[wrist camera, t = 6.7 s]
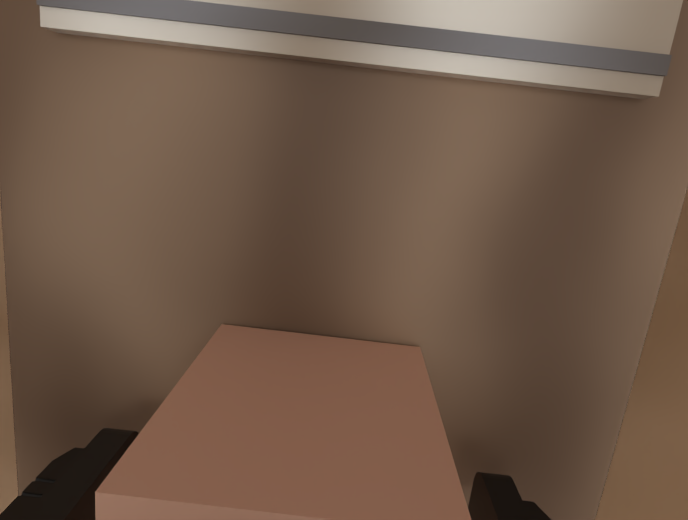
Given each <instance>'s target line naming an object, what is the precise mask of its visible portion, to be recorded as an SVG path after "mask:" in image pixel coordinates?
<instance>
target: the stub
mask: <svg viewBox="0 0 688 520" xmlns="http://www.w3.org/2000/svg"><path fill="white" fill-rule="evenodd" d="M95 520H471V517H470V513H469V510H468V507H467V503H466V500H465V497H464V493H463V490H462V487H461V483H460V480H459V476H458V473H457V470H456V466H455V463H454V460H453V456H452V453H451V449H450V446H449V443H448V439H447V436H446V433H445V429H444V426H443V423H442V419H441V416H440V412H439V409H438V406H437V402H436V399H435V396H434V392H433V389H432V385H431V382H430V379H429V375H428V372H427V369H426V365H425V362H424V359H423V355H422V352H421V348H420V347H416V346H407V345H399V344H390V343H381V342H373V341H364V340H355V339H347V338H338V337H329V336H321V335H312V334H303V333H295V332H286V331H277V330H269V329H260V328H251V327H242V326H234V325H225V324H221V326H220V327H219V328H218V330H217V331H216V332H215V334H214V335H213V336H212V337H211V339H210V340H209V341H208V343H207V344H206V345H205V347H204V348H203V349H202V351H201V352H200V353H199V355H198V356H197V357H196V359H195V360H194V361H193V363H192V364H191V365H190V367H189V368H188V369H187V371H186V372H185V373H184V375H183V376H182V377H181V379H180V380H179V381H178V383H177V384H176V385H175V387H174V388H173V389H172V391H171V392H170V393H169V395H168V396H167V397H166V399H165V400H164V401H163V403H162V404H161V405H160V407H159V408H158V409H157V411H156V412H155V413H154V414H153V416H152V417H151V418H150V420H149V421H148V422H147V424H146V425H145V426H144V428H143V429H142V430H141V432H140V433H139V434H138V436H137V437H136V438H135V440H134V441H133V442H132V444H131V445H130V446H129V448H128V449H127V450H126V452H125V453H124V454H123V456H122V457H121V458H120V460H119V461H118V462H117V464H116V465H115V466H114V468H113V469H112V470H111V472H110V473H109V474H108V476H107V477H106V478H105V480H104V481H103V482H102V484H101V485H100V486H99V488H98V489H97V490H96V491H95Z"/></svg>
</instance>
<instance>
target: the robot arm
mask: <svg viewBox="0 0 688 520" xmlns="http://www.w3.org/2000/svg"><path fill="white" fill-rule="evenodd" d="M138 434H139V433H138V432H137V431H130V430H122V429H113V428H103V429H102V430H100V431H99V433H98V434H97V435H96V436H95V437H94V438H93V439H92V440H91V441H90V443H89V444H88V445H87V446H86V447H85V448H76V447H75V448H73V449H71V450H70V451H68V452H66V453H64V454H63V455H61V456H59V457H58V458H56V459H54V460H53V461H51V462H50V463H49V464H48V466H47V467H46V468H45V469H44V470H43V471H42V472H41V473H40V474H39V475H38V476H37V477H36V479H35V481H32V482H31V483H30V484H29V485H28V486H27V487H26V488H25V489H24V490H23V491H22V494H21V496H18V497H17V498H16V499H15V500H14V501H13V502H12V503H11V504H10V505H9V506H8V507H7V508H6V509H5V510H4V511H3V512H2V513H1V514H0V520H95V491H96V490H97V489H98V488H99V486H100V485H101V484H102V482H103V481H104V480H105V478H106V477H107V476H108V474H109V473H110V472H111V470H112V469H113V468H114V466H115V465H116V464H117V462H118V461H119V460H120V458H121V457H122V456H123V454H124V453H125V452H126V450H127V449H128V448H129V446H130V445H131V444H132V442H133V441H134V440H135V438H136V437H137V436H138ZM468 510H469V513H470V517H471V520H551V519H550V518H549V517H548V516H547V515H546V514H545V513H544V512H543V511H542V510H541V509H540V508H539V506H538V505H537V504H536V503H535V502H532V501H523V500H522V498H521V496H520V494H519V492H518V490H517V487H516V485H515V483H514V481H513V479H512V477H511V476H509V475H501V474H493V473H484V472H477V473H476V475H475V477H474V481H473V486H472V490H471V495H470V500H469V505H468Z"/></svg>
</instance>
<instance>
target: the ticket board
mask: <svg viewBox="0 0 688 520" xmlns="http://www.w3.org/2000/svg"><path fill="white" fill-rule="evenodd" d="M687 188H688V0H0V194H1V211H2V227H3V244H4V261H5V278H6V295H7V312H8V329H9V346H10V363H11V379H12V396H13V413H14V430H15V447H16V464H17V481H18V496H21V494H22V491H23V490H24V489H25V488H26V487H27V486H28V485H29V484H30V483H31V482H32V481H35V479H36V477H37V476H38V475H39V474H40V473H41V472H42V471H43V470H44V469H45V468H46V467H47V466H48V464H49V463H50V462H51V461H53V460H54V459H56V458H58V457H59V456H61V455H63V454H64V453H66V452H68V451H70V450H71V449H73V448H75V447H76V448H85V447H86V446H87V445H88V444H89V443H90V441H91V440H92V439H93V438H94V437H95V436H96V435H97V434H98V433H99V431H100V430H102V429H103V428H113V429H122V430H130V431H137V432H138V433H140V432H141V430H142V429H143V428H144V426H145V425H146V424H147V422H148V421H149V420H150V418H151V417H152V416H153V414H154V413H155V412H156V411H157V409H158V408H159V407H160V405H161V404H162V403H163V401H164V400H165V399H166V397H167V396H168V395H169V393H170V392H171V391H172V389H173V388H174V387H175V385H176V384H177V383H178V381H179V380H180V379H181V377H182V376H183V375H184V373H185V372H186V371H187V369H188V368H189V367H190V365H191V364H192V363H193V361H194V360H195V359H196V357H197V356H198V355H199V353H200V352H201V351H202V349H203V348H204V347H205V345H206V344H207V343H208V341H209V340H210V339H211V337H212V336H213V335H214V334H215V332H216V331H217V330H218V328H219V327H220V326H221V324H225V325H234V326H242V327H251V328H260V329H269V330H277V331H286V332H295V333H303V334H312V335H321V336H329V337H338V338H347V339H355V340H364V341H373V342H381V343H390V344H399V345H407V346H416V347H420V348H421V352H422V355H423V359H424V362H425V365H426V369H427V372H428V375H429V379H430V382H431V385H432V389H433V392H434V396H435V399H436V402H437V406H438V409H439V412H440V416H441V419H442V423H443V426H444V429H445V433H446V436H447V439H448V443H449V446H450V449H451V453H452V456H453V460H454V463H455V466H456V470H457V473H458V476H459V480H460V483H461V487H462V490H463V493H464V497H465V500H466V503H467V507H468V505H469V500H470V495H471V490H472V486H473V481H474V477H475V475H476V473H477V472H484V473H493V474H501V475H509V476H511V477H512V479H513V481H514V483H515V485H516V487H517V490H518V492H519V494H520V496H521V498H522V500H523V501H532V502H535V503H536V504H537V505H538V506H539V508H540V509H541V510H542V511H543V512H544V513H545V514H546V515H547V516H548V517H549V518H550V519H551V520H595V518H596V515H597V511H598V507H599V504H600V500H601V497H602V493H603V489H604V486H605V482H606V479H607V475H608V472H609V468H610V464H611V461H612V457H613V454H614V450H615V446H616V443H617V439H618V436H619V432H620V428H621V425H622V421H623V418H624V414H625V411H626V407H627V403H628V400H629V396H630V393H631V389H632V385H633V382H634V378H635V375H636V371H637V368H638V364H639V360H640V357H641V353H642V350H643V346H644V342H645V339H646V335H647V332H648V328H649V324H650V321H651V317H652V314H653V310H654V307H655V303H656V299H657V296H658V292H659V289H660V285H661V281H662V278H663V274H664V271H665V267H666V264H667V260H668V256H669V253H670V249H671V246H672V242H673V238H674V235H675V231H676V228H677V224H678V220H679V217H680V213H681V210H682V206H683V203H684V199H685V195H686V192H687Z"/></svg>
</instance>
